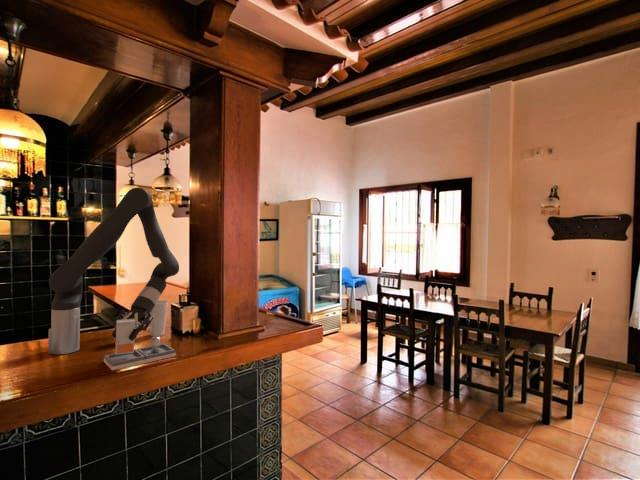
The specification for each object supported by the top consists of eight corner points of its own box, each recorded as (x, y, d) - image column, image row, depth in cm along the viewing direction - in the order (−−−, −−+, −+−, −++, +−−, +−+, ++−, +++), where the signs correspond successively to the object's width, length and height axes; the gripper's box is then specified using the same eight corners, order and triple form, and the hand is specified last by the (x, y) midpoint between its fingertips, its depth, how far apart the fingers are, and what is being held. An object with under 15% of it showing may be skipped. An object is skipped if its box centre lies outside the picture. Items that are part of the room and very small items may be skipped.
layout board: (111, 370, 120) (112, 349, 120) (103, 361, 127) (104, 342, 127) (175, 356, 135) (175, 337, 135) (164, 349, 143) (165, 331, 143)
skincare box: (115, 355, 124) (115, 322, 124) (116, 351, 128) (116, 319, 128) (134, 353, 127) (134, 320, 127) (134, 349, 131) (135, 318, 131)
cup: (161, 331, 168) (161, 299, 168) (171, 334, 163) (171, 302, 163) (143, 335, 161) (144, 302, 161) (153, 338, 156) (154, 304, 156)
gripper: (126, 294, 136) (100, 331, 125) (156, 296, 132) (132, 335, 121) (136, 304, 141) (112, 341, 130) (166, 307, 138) (143, 345, 127)
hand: (122, 338), depth 126 cm, fingers closed on skincare box, 7 cm apart
